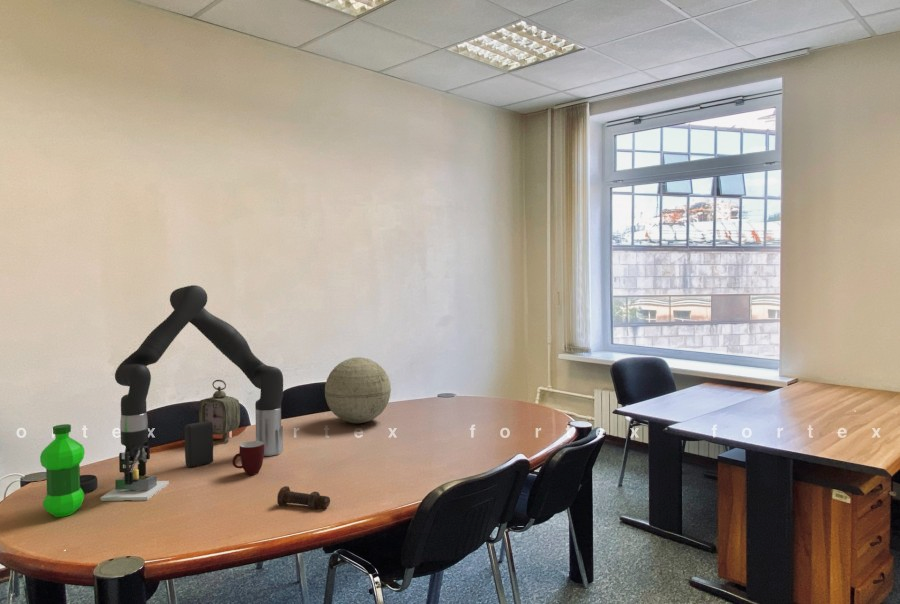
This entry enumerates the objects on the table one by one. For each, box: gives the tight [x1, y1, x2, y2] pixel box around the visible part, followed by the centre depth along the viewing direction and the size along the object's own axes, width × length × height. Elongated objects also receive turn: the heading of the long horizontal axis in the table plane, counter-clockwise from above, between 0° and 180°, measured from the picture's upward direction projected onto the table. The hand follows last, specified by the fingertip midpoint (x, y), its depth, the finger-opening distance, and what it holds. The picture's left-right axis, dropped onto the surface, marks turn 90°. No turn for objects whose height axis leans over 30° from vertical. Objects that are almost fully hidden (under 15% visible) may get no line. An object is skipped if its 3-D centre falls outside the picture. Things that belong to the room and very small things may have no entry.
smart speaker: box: [80, 474, 99, 495], centre depth 185 cm, size 9×9×4 cm
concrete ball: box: [324, 356, 392, 424], centre depth 270 cm, size 30×30×30 cm
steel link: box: [114, 475, 158, 490], centre depth 184 cm, size 10×6×3 cm, turn 91°
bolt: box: [276, 485, 331, 510], centre depth 172 cm, size 6×5×15 cm
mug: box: [231, 440, 265, 476], centre depth 200 cm, size 11×8×10 cm
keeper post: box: [99, 468, 170, 502], centre depth 183 cm, size 14×14×7 cm
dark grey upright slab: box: [183, 421, 214, 468], centre depth 210 cm, size 9×4×15 cm, turn 134°
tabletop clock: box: [198, 379, 241, 444], centre depth 242 cm, size 14×9×25 cm, turn 68°
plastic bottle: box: [39, 423, 85, 518], centre depth 167 cm, size 10×10×25 cm
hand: (135, 479), depth 183 cm, fingers open, 7 cm apart
